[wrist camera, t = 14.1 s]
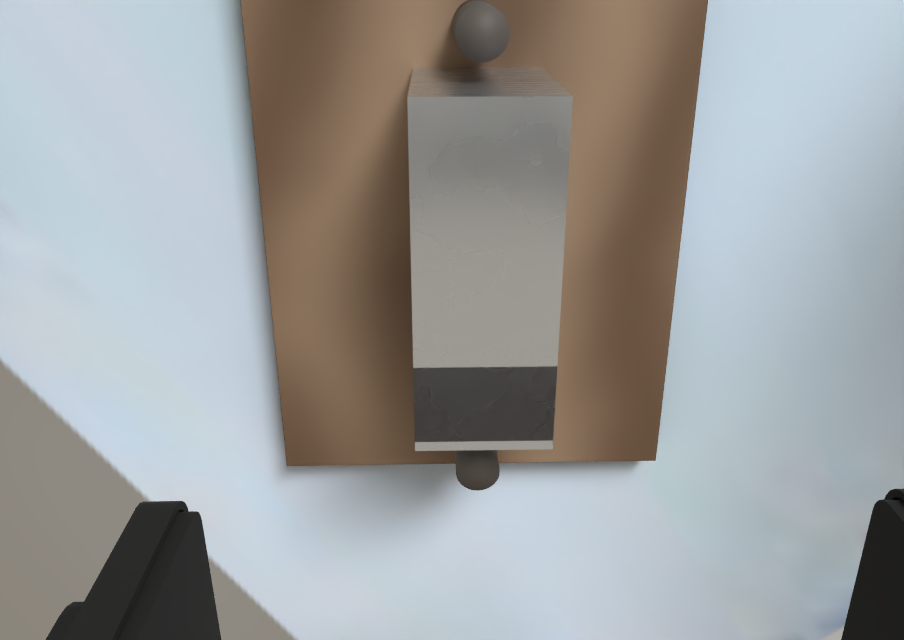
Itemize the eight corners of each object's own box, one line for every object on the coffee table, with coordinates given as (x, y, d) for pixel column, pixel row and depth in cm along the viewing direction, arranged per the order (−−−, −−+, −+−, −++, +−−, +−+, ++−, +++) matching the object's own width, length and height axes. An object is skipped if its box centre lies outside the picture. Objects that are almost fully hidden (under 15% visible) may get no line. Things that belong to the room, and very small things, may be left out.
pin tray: (702, -60, 25) (766, -66, 20) (648, 443, 32) (685, 527, 27) (243, -58, 25) (197, -64, 20) (291, 448, 32) (267, 533, 27)
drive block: (542, 67, 25) (572, 96, 20) (530, 358, 29) (552, 449, 24) (413, 68, 25) (407, 96, 20) (418, 359, 29) (415, 450, 24)
